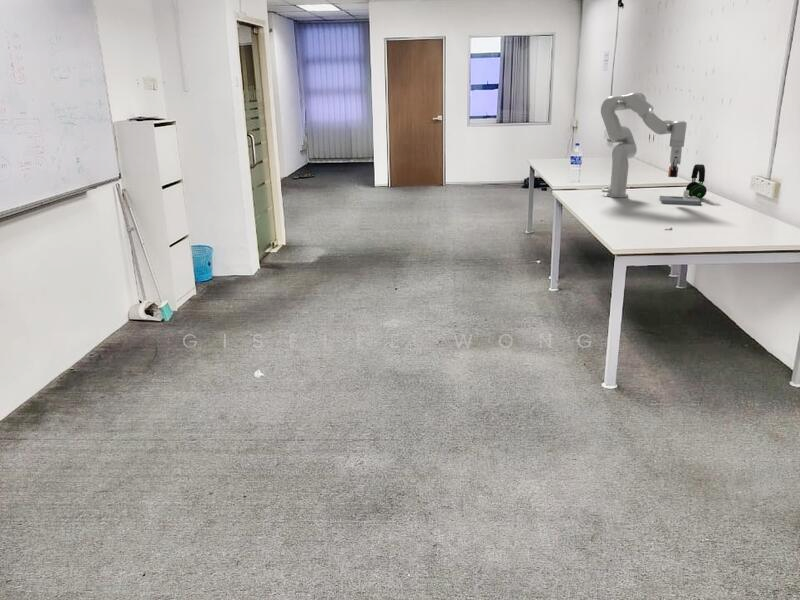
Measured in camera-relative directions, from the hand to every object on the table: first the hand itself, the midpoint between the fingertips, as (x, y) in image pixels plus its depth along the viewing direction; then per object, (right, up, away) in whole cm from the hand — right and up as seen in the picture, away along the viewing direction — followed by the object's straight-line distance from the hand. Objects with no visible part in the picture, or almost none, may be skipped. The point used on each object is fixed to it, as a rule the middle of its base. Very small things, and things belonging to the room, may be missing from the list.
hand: (672, 176), depth 365 cm
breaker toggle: (+11, -11, +8) cm, 18 cm away
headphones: (+22, -10, +19) cm, 31 cm away
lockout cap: (0, 0, 0) cm, 0 cm away
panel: (+7, -14, +6) cm, 17 cm away
